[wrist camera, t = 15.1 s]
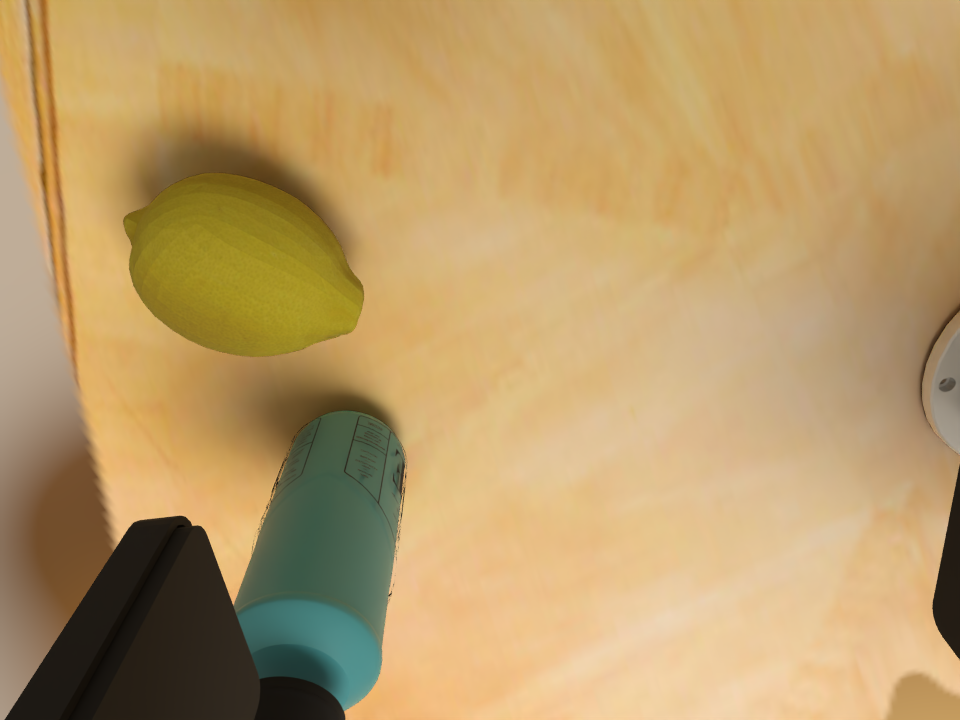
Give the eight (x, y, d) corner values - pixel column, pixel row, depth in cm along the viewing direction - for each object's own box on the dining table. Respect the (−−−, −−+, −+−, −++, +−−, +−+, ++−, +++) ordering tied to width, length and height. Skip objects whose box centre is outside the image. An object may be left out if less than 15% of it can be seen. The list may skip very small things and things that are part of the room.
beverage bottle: (276, 412, 41) (124, 736, 23) (386, 377, 40) (319, 683, 22) (325, 501, 43) (224, 853, 25) (429, 470, 43) (401, 811, 25)
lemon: (134, 252, 37) (53, 313, 29) (196, 115, 34) (122, 145, 27) (327, 356, 39) (296, 435, 32) (400, 237, 36) (383, 294, 29)
